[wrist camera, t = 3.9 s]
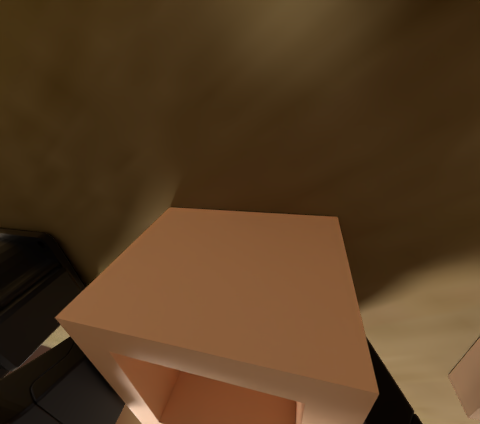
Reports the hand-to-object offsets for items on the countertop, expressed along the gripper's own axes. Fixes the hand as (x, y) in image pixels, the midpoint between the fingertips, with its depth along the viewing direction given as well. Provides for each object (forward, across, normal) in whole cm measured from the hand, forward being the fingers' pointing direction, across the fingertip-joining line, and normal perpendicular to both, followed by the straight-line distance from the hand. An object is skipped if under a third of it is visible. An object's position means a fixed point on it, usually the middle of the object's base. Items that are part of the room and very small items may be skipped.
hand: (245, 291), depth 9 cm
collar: (+1, 0, 0) cm, 1 cm away
